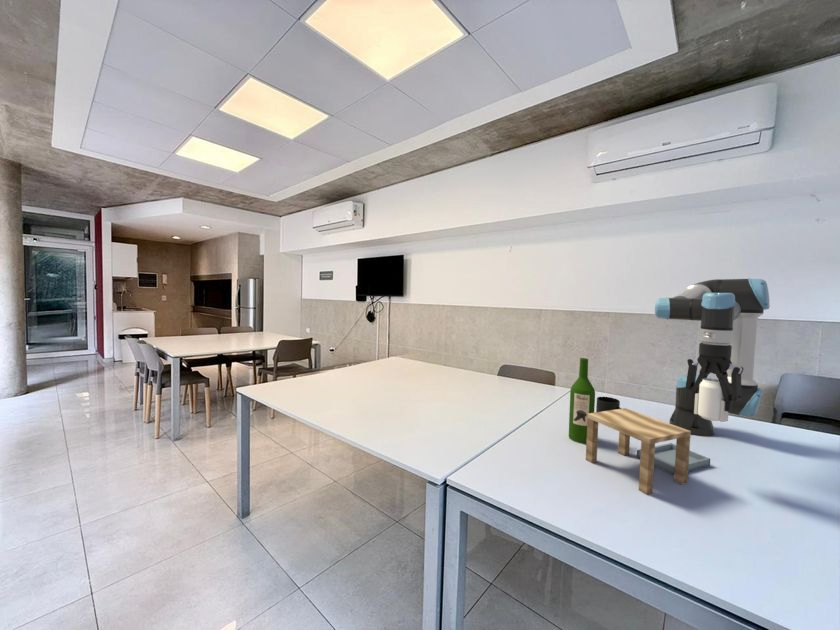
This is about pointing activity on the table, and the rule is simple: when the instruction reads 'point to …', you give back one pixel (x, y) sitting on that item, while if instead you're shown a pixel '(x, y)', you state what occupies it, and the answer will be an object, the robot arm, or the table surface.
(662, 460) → the tray
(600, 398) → the mug
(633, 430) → the small wooden table
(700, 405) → the beverage can
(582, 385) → the wine bottle
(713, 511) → the table surface
